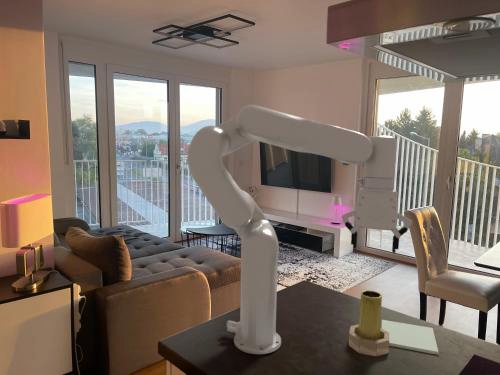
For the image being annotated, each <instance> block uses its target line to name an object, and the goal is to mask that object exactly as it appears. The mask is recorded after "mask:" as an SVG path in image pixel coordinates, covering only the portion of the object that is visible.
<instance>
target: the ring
mask: <svg viewBox="0 0 500 375" xmlns="http://www.w3.org/2000/svg"><path fill="white" fill-rule="evenodd" d="M358 326H359V323H358V324H355V325H351V326H350V328H349V332H348V333H349V334H348V336H349V337H348V346H349V347H350V348H352V349H353V350H354V351H356V352H357V353H358V354H361V355H367V356H372V357H380V356H383V355H387V354H389V351H390V350H389V348H390V346H389V332H387V331H385V330H384V329H382V328H380V340H376V341H374V340H368V339H363V338H361V337H359V336H358Z"/></svg>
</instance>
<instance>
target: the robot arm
mask: <svg viewBox="0 0 500 375" xmlns="http://www.w3.org/2000/svg"><path fill="white" fill-rule="evenodd" d="M254 141H257V142H260V143H265V144H267V145H268V144H269V145H271V146H276V147H279V148H282V149H286V150H289V151H294V152H299V153H306V154H313V155H319V156H324V157H326V158H329V159H333V160H337V161H339V162H340V163H342V164H347V165H355V166H358V165H362V164H363V177H362V178H357V179H356V181H357V182H356V183H357V185H361V186H362V188H359V190H358V194H357V199H356V206H355V209H354V210H351V211H348V212H346V213H344V214H342V215H341V219H342V221H343V224H344V226H345V227H346V228H347V229H348V230H349V231H350V235H351V236H350V238H351V239H350V245H353V249H357V247H358V230H359V229H360V228H362V229H371V230H382V231H391V232H392V234H393V235H392V248H391V249H392V250H391V252H392V253H393V254H396V251H397V250H399V249H400V248H399V247H400V246H399V245H400V238H401V237H402V236H403V235H405V233H407V232H408V230H409V229H410V228H411V226H412V224H413V221H412V219H409V218H408V217H406V216H404V215H402V214H400V212H399V211H398V210H399V209H398V206H399V204H398V193H397V190H394V186H395V170H396V158H397V139H396V138H395V137H393V136H392V135H391V136H390V135H370V136H367V135H365V134H363V133H361V132H358V131H355V130H351V129H347V128H344V127H340V126H336V125H333V124H332V125H331V124H328V123H324V122H319V121H315V120H313V119H309V118H305V117H300V116H297V115H293V114H291V113H289V114H288V113H286V112H283V111H278V110H274V109H272V108H268V107H264V106H261V105H256V104H248V105H245V106H244V107H242V108H240V110H239V112H238V113H237V114H236V115H235V116H233V117H231V118H229V119H227V120H226V121H223V122H222V123H220V124H217V125H216V126H215V125H207V126H203V127H202V128H200V129H199V130H198V131H197V132H196V133H195V134H194V136H193V137H192V139H191V142H190V143H189V145H188V146H189V147H188V150H187V166H188V169H189V172H190V175H191V176H192V178H193V180H194V182H195V184H196V185H197V187H198V188H199V189H200V190H201V192H202V193H203V195H204V197H205V198H206V200H207V201H208V202H209V205H211V207H212V208H213V209H214V212H215V213H216V214H217V216H218V218H219V219H220V221H221V222H222V224H224V225H225V226H226V227H228V228H230V229H232V230H234V232H236V234H237V235H238V237H239V238H240V241H241V245H240V307H239V308H240V311H239V312H240V314H239V315H240V319H239V321H238V322H237V321H234V320H227V322H226V330H227V332H230V333H234V334H235V335H234V338H233V342H234V343H233V344H234V346H235V347H236V348H237V349H238V350H240V351H242V352H243V353H247V354H252V355H266V354H271V353H273V352H276V351H277V350H279V348H280V347H281V345H282V338H281V336H280V334H278V332H276V330H277V328H276V325H277V298H278V297H277V296H278V295H277V293H278V292H277V290H278V286H277V285H278V267H279V266H278V265H279V264H278V263H279V255H280V254H279V252H280V251H279V250H280V246H279V240H278V236H277V233H276V231H275V229H274V226H273V225H272V224H271V223H270V221H269V220H268V218H267V217H266V216H265V214H264V213H263V211H262V209H260V207H259V206H258V204H257V202H256V201H255V200H254V198H253V197H252V196H251V195H250V193H248V192H247V191H245V190H242V189H241V188H240V187H239V185H238V184H237V183H236V180H234V179H233V176H232V174H230V172H229V171H228V170H227V168H226V167H225V165H224V162H223V158H224V157H226V156H227V155H230V154H231V153H233V152H235V151H237V150H239V149H241V148H243V147H245V146H247V145H248V144H249V145H250V143H252V142H254ZM352 217H355V218H354V222H355V224H354V225H353V224H352V223H351V222H350V220H349V218H352ZM398 220H399V221H401V222H403V223H404V224H403V226H402V227H401V228H400V229H398V227H397V226H398Z"/></svg>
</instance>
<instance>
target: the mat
mask: <svg viewBox="0 0 500 375" xmlns="http://www.w3.org/2000/svg"><path fill="white" fill-rule="evenodd" d="M381 328H382V329H384V330H385V331H387V332H389V347H394V348H395V347H396V348H399V349H405V350H411V351H416V352H421V353H427V354H432V355H436V356H437V355H438V356H439V353H440V352H439V349H438V344H437V341H436V336H435V333H434V328H433V327H429V326H422V325H416V324H409V323H406V322H405V323H403V322H400V321H398V322H397V321H392V320H387V319H381Z"/></svg>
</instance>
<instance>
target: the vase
mask: <svg viewBox="0 0 500 375" xmlns="http://www.w3.org/2000/svg"><path fill="white" fill-rule="evenodd" d="M382 297H383V296H382V294H381V293H380V292H379V291H377V290H376V291H375V290H371V289H370V290H362V291H361V293H360V306H359V307H360V308H359V318H358V319H359V320H358V324H359V326H358V336H359V337H361V338H363V339H368V340H374V341H376V340H380V328H381V326H382V318H381V317H382V316H381V315H382V302H383V298H382Z"/></svg>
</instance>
